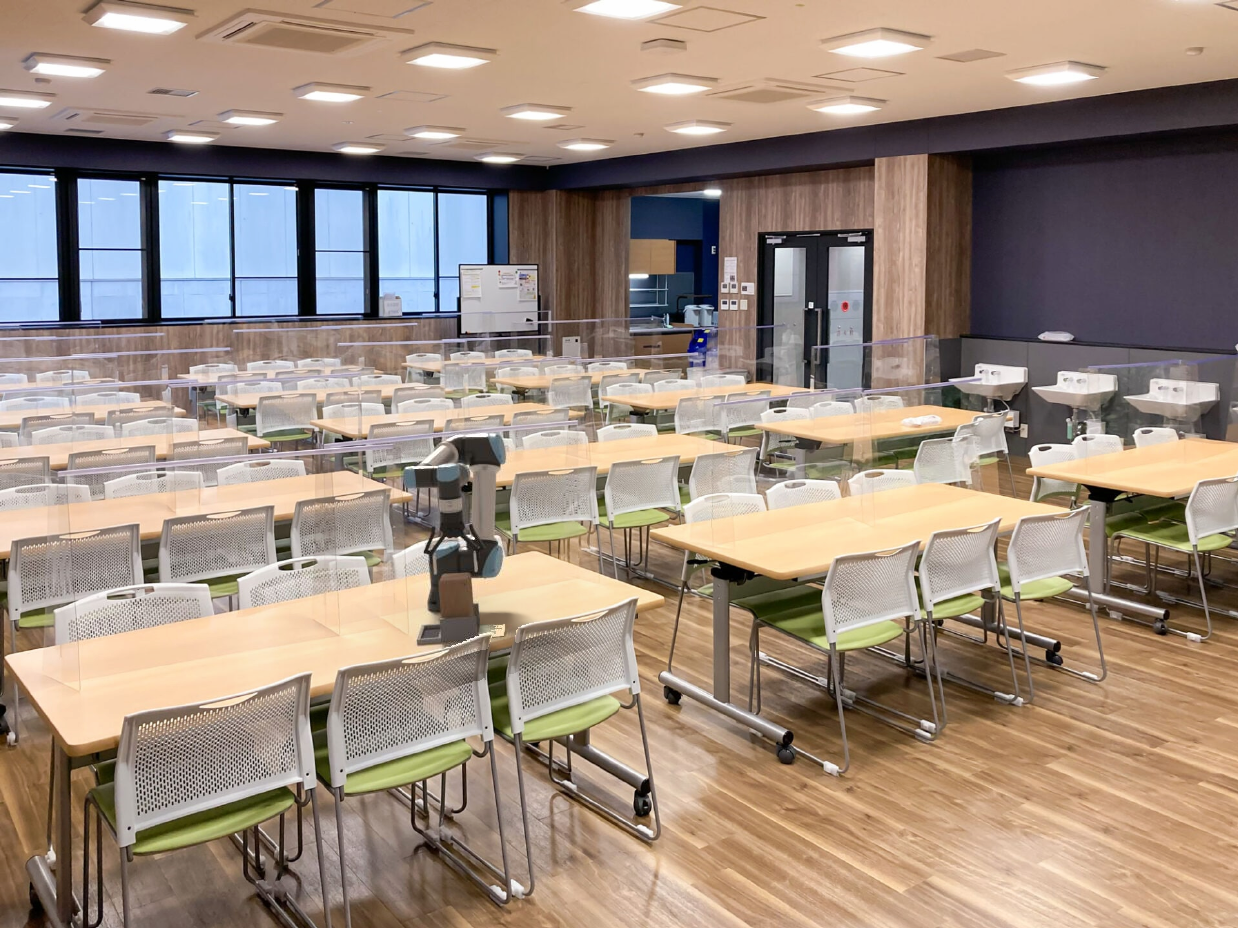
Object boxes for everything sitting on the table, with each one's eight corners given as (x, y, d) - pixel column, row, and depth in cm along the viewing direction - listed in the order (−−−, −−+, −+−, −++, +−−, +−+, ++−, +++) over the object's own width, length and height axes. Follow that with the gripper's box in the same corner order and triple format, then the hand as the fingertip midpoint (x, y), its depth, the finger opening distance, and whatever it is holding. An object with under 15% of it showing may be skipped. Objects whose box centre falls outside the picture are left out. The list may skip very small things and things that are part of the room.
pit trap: (422, 628, 404) (421, 624, 404) (445, 627, 405) (445, 623, 404) (417, 644, 389) (416, 639, 388) (441, 642, 389) (441, 638, 389)
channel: (445, 627, 405) (443, 605, 403) (480, 624, 405) (478, 602, 404) (441, 642, 389) (439, 619, 388) (477, 639, 390) (475, 616, 388)
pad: (479, 626, 404) (479, 625, 404) (505, 624, 404) (505, 623, 404) (477, 638, 391) (477, 637, 391) (504, 636, 392) (504, 635, 391)
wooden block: (472, 636, 393) (467, 579, 389) (442, 638, 393) (437, 581, 389) (475, 627, 403) (471, 571, 399) (446, 628, 403) (442, 573, 399)
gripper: (412, 515, 385) (417, 577, 389) (488, 510, 386) (492, 572, 390) (414, 510, 392) (419, 571, 396) (489, 505, 394) (493, 566, 397)
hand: (455, 572), depth 393 cm, fingers open, 13 cm apart
